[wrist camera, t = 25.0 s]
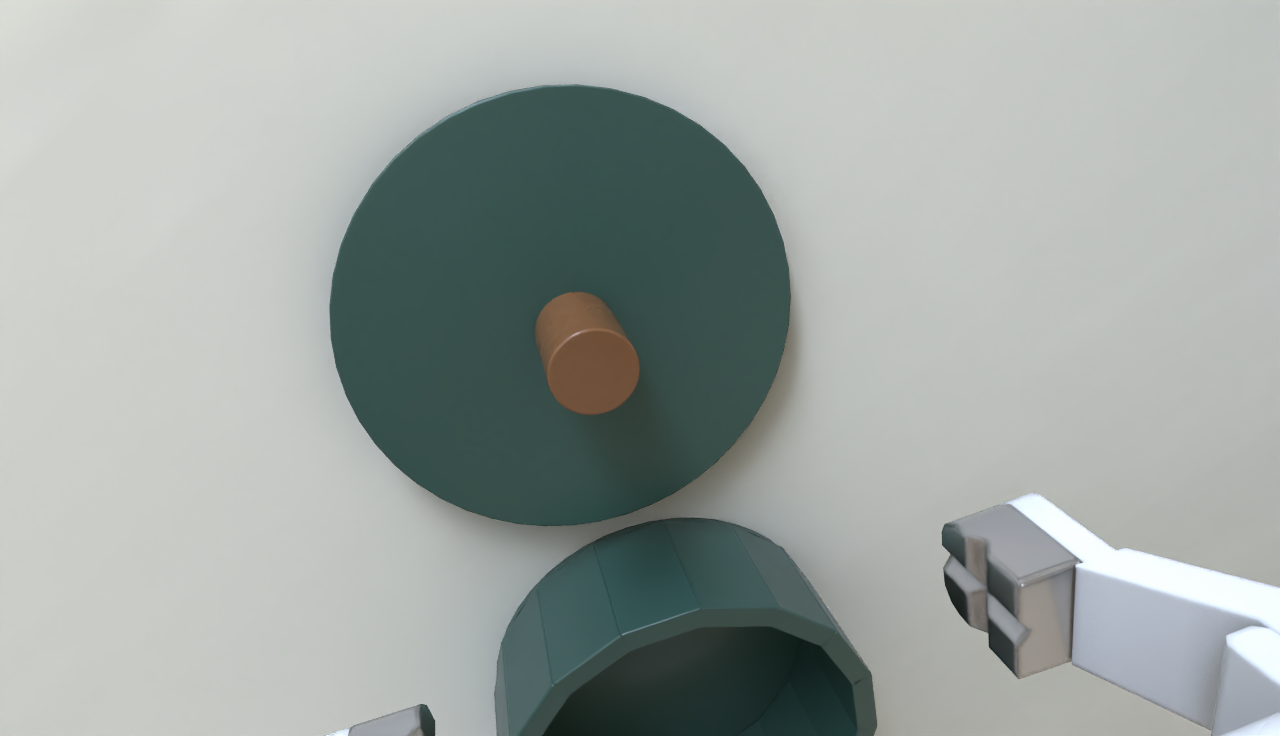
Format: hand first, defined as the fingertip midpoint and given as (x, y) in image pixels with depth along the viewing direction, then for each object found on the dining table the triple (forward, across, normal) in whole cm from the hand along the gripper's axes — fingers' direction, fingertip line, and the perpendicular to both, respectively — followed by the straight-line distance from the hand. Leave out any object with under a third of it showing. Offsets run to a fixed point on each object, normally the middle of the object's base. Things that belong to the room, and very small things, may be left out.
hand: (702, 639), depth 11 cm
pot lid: (+15, 0, 0) cm, 15 cm away
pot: (+15, 0, +16) cm, 22 cm away
